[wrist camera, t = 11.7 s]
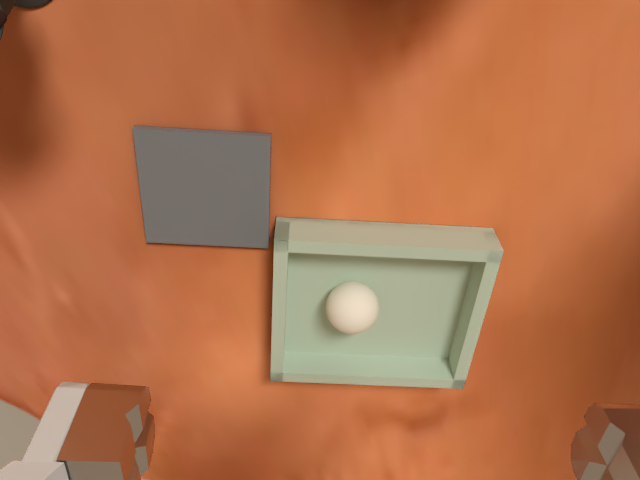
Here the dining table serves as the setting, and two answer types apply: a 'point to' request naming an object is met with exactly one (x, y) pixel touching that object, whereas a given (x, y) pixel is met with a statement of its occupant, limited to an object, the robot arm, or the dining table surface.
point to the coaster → (204, 186)
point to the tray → (380, 301)
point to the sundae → (4, 0)
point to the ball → (352, 307)
